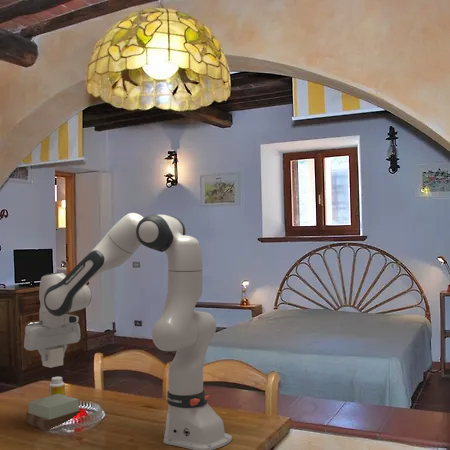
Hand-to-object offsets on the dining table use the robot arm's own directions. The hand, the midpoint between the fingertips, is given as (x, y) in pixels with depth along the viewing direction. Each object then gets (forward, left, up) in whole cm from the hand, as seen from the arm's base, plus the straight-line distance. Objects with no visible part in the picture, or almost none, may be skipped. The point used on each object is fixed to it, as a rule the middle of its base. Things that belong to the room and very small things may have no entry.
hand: (53, 359), depth 197 cm
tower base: (0, 0, -22) cm, 22 cm away
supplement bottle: (+17, -12, -22) cm, 30 cm away
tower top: (0, 0, -18) cm, 18 cm away
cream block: (0, 0, -2) cm, 2 cm away
